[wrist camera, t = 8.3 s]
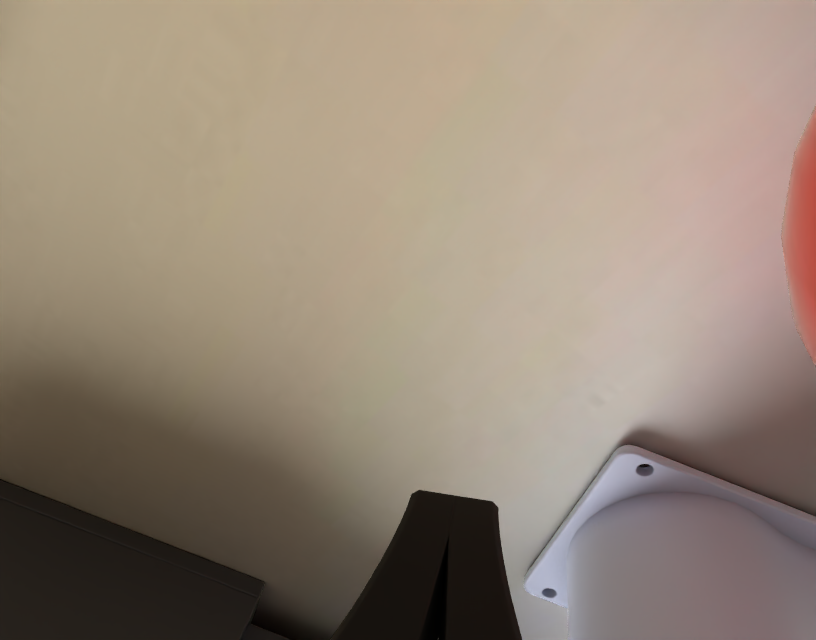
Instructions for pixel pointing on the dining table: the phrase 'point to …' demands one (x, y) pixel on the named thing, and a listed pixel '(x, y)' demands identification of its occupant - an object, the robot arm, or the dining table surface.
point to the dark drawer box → (108, 580)
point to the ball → (802, 237)
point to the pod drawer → (260, 634)
